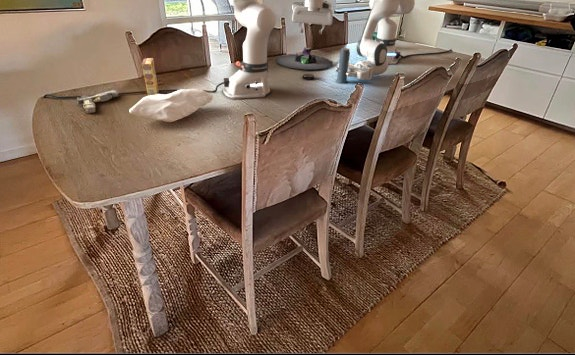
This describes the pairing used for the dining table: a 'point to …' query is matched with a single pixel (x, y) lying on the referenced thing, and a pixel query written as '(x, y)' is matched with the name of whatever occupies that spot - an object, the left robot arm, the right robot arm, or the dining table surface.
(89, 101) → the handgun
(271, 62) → the dining table surface
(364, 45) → the right robot arm
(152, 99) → the crumpled cloth
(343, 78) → the grey tall cylinder
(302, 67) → the round decorative tray
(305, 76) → the lid
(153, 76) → the candy box
